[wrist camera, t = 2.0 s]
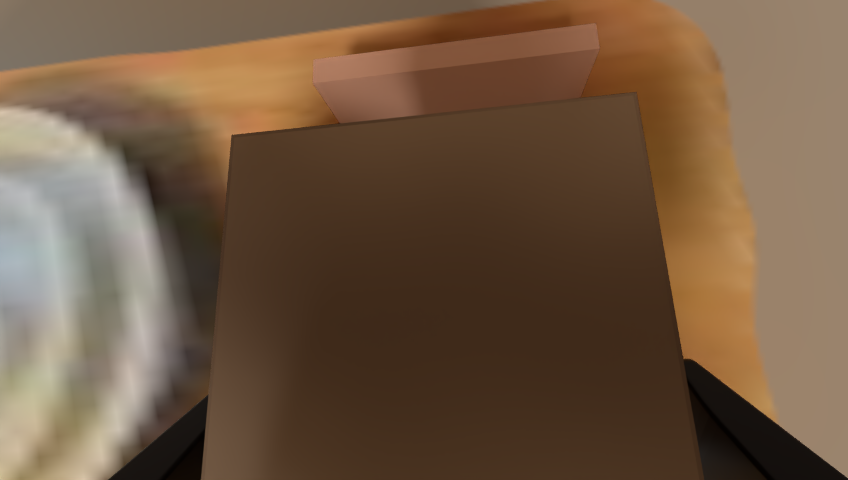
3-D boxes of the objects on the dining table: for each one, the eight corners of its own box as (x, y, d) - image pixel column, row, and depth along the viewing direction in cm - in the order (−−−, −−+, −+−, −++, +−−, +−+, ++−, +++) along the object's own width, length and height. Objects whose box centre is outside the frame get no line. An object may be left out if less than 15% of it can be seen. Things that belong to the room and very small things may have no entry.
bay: (633, 511, 16) (680, 568, 12) (336, 504, 17) (294, 552, 14) (574, 82, 20) (596, 22, 16) (343, 108, 22) (313, 59, 18)
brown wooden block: (545, 406, 17) (727, 611, 4) (400, 407, 18) (192, 582, 5) (532, 260, 18) (636, 92, 6) (398, 267, 19) (231, 135, 6)
